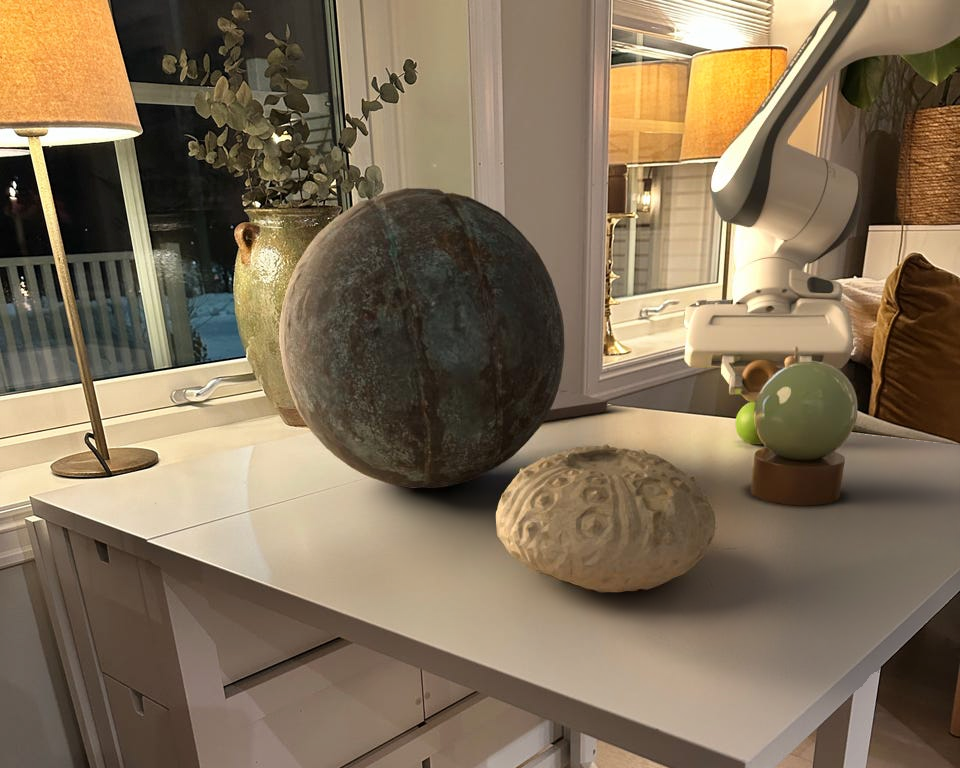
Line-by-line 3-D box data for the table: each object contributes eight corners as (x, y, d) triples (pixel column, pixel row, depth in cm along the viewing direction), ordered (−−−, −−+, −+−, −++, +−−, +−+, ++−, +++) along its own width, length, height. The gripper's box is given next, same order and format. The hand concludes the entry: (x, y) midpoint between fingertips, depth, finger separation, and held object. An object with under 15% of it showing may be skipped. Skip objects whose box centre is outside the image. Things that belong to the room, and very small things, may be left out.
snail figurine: (786, 450, 114) (799, 349, 108) (733, 447, 115) (743, 348, 110) (784, 440, 118) (797, 343, 113) (733, 437, 120) (743, 342, 115)
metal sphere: (508, 442, 121) (505, 188, 108) (607, 504, 95) (620, 180, 82) (279, 465, 112) (248, 193, 99) (321, 540, 86) (285, 186, 74)
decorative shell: (750, 570, 77) (764, 452, 73) (629, 639, 66) (636, 504, 61) (581, 527, 88) (584, 423, 84) (452, 579, 77) (447, 462, 72)
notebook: (485, 430, 127) (606, 411, 137) (484, 419, 126) (607, 400, 136) (441, 415, 137) (557, 398, 146) (440, 404, 136) (557, 388, 146)
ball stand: (783, 475, 103) (799, 351, 98) (863, 494, 96) (885, 361, 90) (726, 491, 98) (738, 361, 92) (806, 513, 91) (825, 373, 85)
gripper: (686, 284, 117) (681, 375, 112) (855, 282, 113) (857, 377, 109) (683, 317, 123) (678, 405, 118) (844, 316, 119) (845, 408, 114)
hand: (765, 392), depth 113 cm, fingers closed on snail figurine, 6 cm apart
